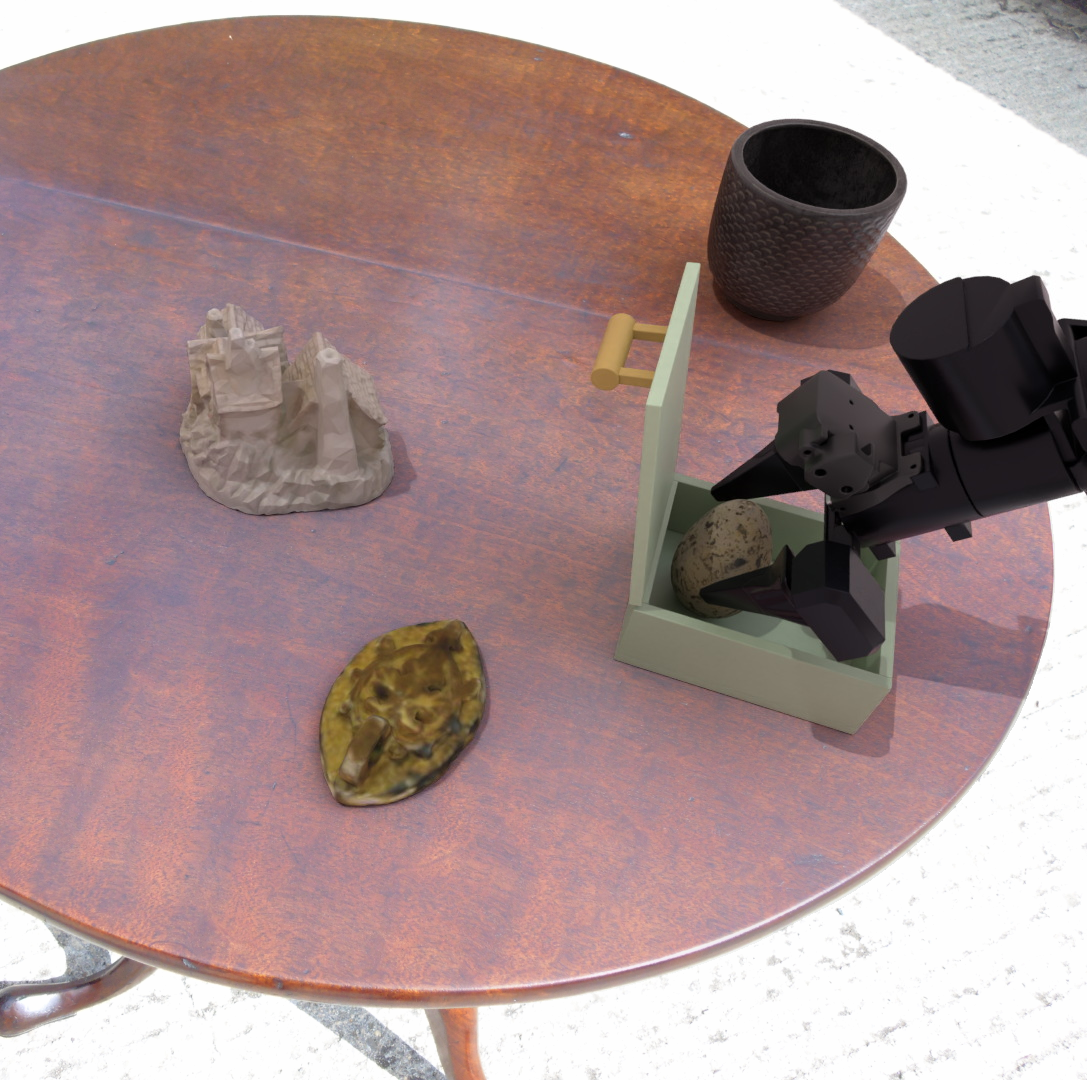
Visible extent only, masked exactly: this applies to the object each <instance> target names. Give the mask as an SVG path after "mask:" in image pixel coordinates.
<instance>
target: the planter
mask: <svg viewBox="0 0 1087 1080" xmlns="http://www.w3.org/2000/svg"><path fill="white" fill-rule="evenodd" d="M907 189H908V177H907V173H906V171H905V169H904V166H903V165H902V163H901V162H900V161H899V160H898V158H897V157H896V156H895V155H894V154H893V153H892V152H891V151H890V150H889V149H888V148H887V147H885V146H884V145H882V144H881V143H879V142H878V141H876V140H875V139H873V138H871V137H869V136H867V135H865V134H863V133H861V132H859V131H856V130H854V129H851V128H849V127H845V126H843V125H839V124H836V123H832V122H827V121H822V120H816V119H810V118H809V119H808V118H780V119H779V118H778V119H772V120H768V121H763V122H761V123H758V124H755V125H752V126H751V127H749V128H747V129H745V130H744V131H743V132H742V133H740V134H739V136H738V137H737V138H736V139H735V140H734V142H733V144H732V146H731V148H730V150H729V154H728V156H727V160H726V163H725V166H724V169H723V173H722V177H721V180H720V183H719V186H718V191H717V194H716V198H715V202H714V206H713V210H712V215H711V218H710V223H709V228H708V229H709V230H708V235H707V243H706V245H707V246H706V250H707V251H706V252H707V253H706V255H707V256H706V257H707V262H708V268H709V270H710V272H711V275H712V277H713V279H714V280H715V282H716V284H717V285H718V286H719V288H720V289H721V290H722V292H723V293H724V296H725V297H726V299H727V300H728V301H729V302H730V303H731V304H732V305H733V306H734V307H735V308H737V309H738V310H740V311H741V312H742V313H745V314H746V315H749V316H751V317H754V318H758V319H761V320H766V321H773V322H785V321H786V322H787V321H792V320H797V319H798V318H801V317H803V316H808V315H812V314H816V313H818V312H821V311H822V310H825V309H828V307H831V306H832V305H834V304H835V303H836V302H838V301H839V300H841V298H842V297H844V296H845V295H846V293H847V292H848V291H850V289H851V288H852V287H853V286H854V284H855V283H856V282H857V281H858V279H859V278H860V277H861V275H862V274H863V272H864V271H865V269H866V267H867V266H868V264H869V262H870V261H871V260H872V258H873V256H874V254H875V253H876V251H877V249H878V247H879V246H880V244H881V242H882V240H883V239H884V237H885V235H886V233H887V232H888V229H889V228H890V226H891V224H892V222H893V220H894V219H895V216H896V214H897V213H898V211H899V209H900V207H901V205H902V203H903V201H904V199H905V197H906V194H907Z"/></svg>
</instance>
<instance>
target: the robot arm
mask: <svg viewBox="0 0 1087 1080" xmlns="http://www.w3.org/2000/svg"><path fill="white" fill-rule="evenodd" d="M1048 291H1049V290H1048V289H1047V286H1046V285H1045V283H1044V281H1043V279H1042V277H1041V276H1040V275H1035V274H1032V275H1030V276H1027V277H1024V278H1022V279H1020V280H1017V281H1014V282H1012V283H1010V281H1008V280H1005V279H1003V278H1002V277H999V276H998V277H997V276H991V275H977V276H975V275H974V276H970V277H966V278H962V277H961V276H956V277H953V278H951V279H947V280H945V281H943V282H941V283H939V284H936V285H935V286H933V287H931V288H929V289H927V290H926V291H924V292H923V293H921V294H920V295H918V296H917V297H916V298H915V299H913V300H912V301H911V302H910V303H909V304H908V305H906V306H905V308H904V309H902V311H901V312H900V313H899V315H898V316H897V317H896V319H895V321H894V322H893V324H892V326H891V329H890V333H889V344H890V346H891V348H892V351H893V352H894V353H895V355H896V356H897V358H898V360H899V361H900V363H901V365H902V366H903V368H904V369H905V371H906V373H907V375H908V376H909V378H910V379H911V381H912V382H913V384H914V385H915V387H916V389H917V390H918V393H919V394H920V395H921V397H922V398H923V400H924V402H925V403H926V405H927V406H928V408H929V409H930V411H931V412H932V414H933V416H934V417H935V419H936V421H937V422H936V423H935V422H934V420H933V419H932V418H931V415H930V413H928V410H926V409H925V410H923V411H917V410H909V411H908V412H904V413H901V414H898V415H897V414H896V415H889V414H887V413H886V412H885V411H884V410H883V409H881V408H880V406H879V404H877V403H876V402H875V401H874V400H873V399H871V398H870V397H869V396H867V395H865V394H864V392H863V391H862V389H861V388H860V387H859V385H858V383H857V382H856V381H855V379H854V377H853V376H852V374H851V373H848V372H843V371H838V370H834V369H823V370H822V369H821V370H819V371H818V372H816V373H815V374H813V375H811V376H808V377H805V378H802V379H800V383H799V386H798V387H797V388H796V389H794V390H792V391H791V392H790V393H788V394H787V395H786V396H785V397H784V398H782V399H781V400H780V401H778V402H777V404H776V413H777V414H778V420H777V421H778V422H777V432H776V433H775V434H774V439H773V440H771V441H770V442H769V443H768V444H767V445H765V447H763V448H762V449H761V450H760V451H758V452H757V453H755V454H754V455H753V456H752V457H750V458H749V459H748V460H746V461H744V463H742V464H740V465H739V466H738V467H737V468H736V469H735V470H733V471H731V472H729V474H727V475H726V476H725V477H724V478H722V479H721V480H719V481H718V482H717V483H715V484H716V485H714V486H713V487H712V488H711V491H710V493H711V495H712V496H713V498H714V499H715V500H716V501H718V502H725V501H731V500H737V499H744V500H748V499H755V498H761V497H765V498H769V497H775V496H780V495H787V494H794V493H801V492H802V493H803V492H809V491H816V490H819V491H820V492H822V493H824V502H823V504H824V505H823V506H824V507H823V514H824V540H823V541H819V542H815V543H812V544H808V545H806V546H805V547H804V548H803V549H802V550H801V551H800V552H799V553H798V554H797V555H795V554H794V552H793V551H792V550H791V548H790V547H789V546H788V545H785V546H784V547H783V548H782V550H781V552H780V553H779V555H778V556H777V558H776V560H775V561H774V563H773V564H772V565H769V566H766V567H763V568H760V569H757V570H753V571H750V572H747V573H743V574H740V575H737V576H734V577H730V578H727V579H724V580H720V581H718V582H715V583H713V584H710V585H708V586H706V587H703V588H701V589H700V590H699V596H700V597H701V598H702V599H703V601H704V602H705V603H707V604H711V605H716V606H721V607H726V608H731V609H737V610H742V611H747V612H752V613H757V614H762V615H766V616H771V617H776V618H780V619H783V620H787V621H790V622H793V623H796V624H800V625H803V626H806V627H810V628H811V629H812V631H813V632H814V633H815V634H816V635H817V637H818V638H819V639H820V640H821V642H822V643H823V644H824V645H825V647H826V648H827V649H828V650H829V651H830V653H831V654H832V655H833V656H834V658H835V659H836V660H837V661H838V662H841V661H846V660H851V659H856V658H861V657H866V656H869V655H872V654H874V653H876V652H877V651H878V649H879V648H880V647H881V645H882V644H883V643H884V641H885V596H884V591H883V590H882V588H881V587H880V586H879V584H878V583H877V582H876V580H875V579H874V578H873V576H872V575H871V574H870V572H869V571H868V570H867V568H866V567H865V566H864V564H863V563H862V561H861V548H867V547H869V549H870V550H871V552H872V553H873V554H874V556H875V557H876V558H877V560H878V561H880V560H884V559H888V558H892V557H896V541H898V540H901V541H902V540H906V539H909V538H913V537H917V536H920V535H921V536H922V535H925V534H929V533H932V532H935V531H941V530H944V531H945V532H946V534H947V535H948V537H949V538H950V539H951V541H952V542H953V543H956V542H958V541H964V540H967V539H971V538H973V528H972V527H973V526H972V522H974V521H979V520H982V519H986V518H989V517H994V516H998V515H1001V514H1005V513H1009V512H1013V511H1017V510H1020V509H1023V508H1029V507H1032V506H1036V505H1040V504H1043V503H1047V502H1051V501H1054V500H1058V499H1062V498H1066V497H1069V496H1073V495H1078V494H1081V493H1083V492H1084V494H1085V496H1087V319H1078V318H1068V317H1062V318H1059V319H1057V317H1056V316H1055V314H1054V311H1053V310H1052V305H1051V300H1050V294H1049V292H1048ZM842 523H843V525H842Z"/></svg>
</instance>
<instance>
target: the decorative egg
mask: <svg viewBox="0 0 1087 1080" xmlns="http://www.w3.org/2000/svg"><path fill="white" fill-rule="evenodd" d="M772 549H773V542H772V531H771V526H770V522H769V520H768V517H767V515H766V514H765V512H764V510H763V509H762V508H761V507H760V506H759V505H757V504H756V503H754V502H752V501H749V500H744V499H737V500H731V501H728V502H725V503H723V504H720V505H718V506H716V507H715V508H713V509H711V510H710V511H709V512H707V513H706V514H705V515H704V516H702V517H701V518H700V519H699V520H698V521H697V522H696V523H695V524H694V525H693V526H692V527H691V528H690V529H689V530H688V531H687V533H686V534H685V535H684V537H683V538H682V540H681V541H680V543H679V545H678V547H677V549H676V551H675V554H674V556H673V560H672V564H671V582H672V586H673V589H674V592H675V594H676V596H677V598H678V599H679V601H680V602H681V603H682V604H683V605H684V606H685V607H686V608H687V609H688V610H689V611H691V612H693V613H694V614H696V615H699V616H701V617H705V618H711V619H721V618H727V617H731V616H733V615H736V614H738V613H740V612H742V610H737V609H731V608H726V607H721V606H716V605H711V604H707V603H705V602H704V601H703V599H702V598H701V597H700V596H699V590H700V589H701V588H703V587H706V586H708V585H710V584H713V583H715V582H718V581H720V580H724V579H727V578H730V577H734V576H737V575H740V574H743V573H747V572H750V571H753V570H757V569H760V568H763V567H766V566H769V565H771V561H772Z"/></svg>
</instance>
